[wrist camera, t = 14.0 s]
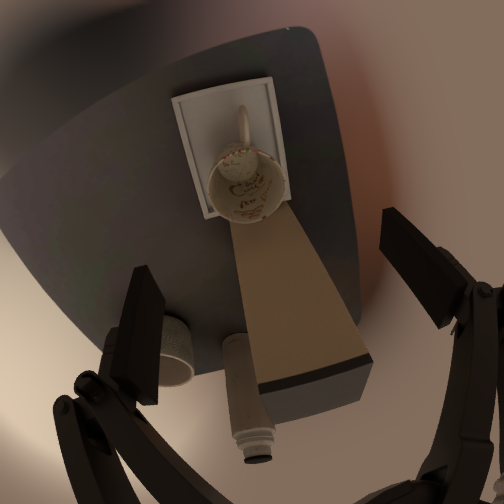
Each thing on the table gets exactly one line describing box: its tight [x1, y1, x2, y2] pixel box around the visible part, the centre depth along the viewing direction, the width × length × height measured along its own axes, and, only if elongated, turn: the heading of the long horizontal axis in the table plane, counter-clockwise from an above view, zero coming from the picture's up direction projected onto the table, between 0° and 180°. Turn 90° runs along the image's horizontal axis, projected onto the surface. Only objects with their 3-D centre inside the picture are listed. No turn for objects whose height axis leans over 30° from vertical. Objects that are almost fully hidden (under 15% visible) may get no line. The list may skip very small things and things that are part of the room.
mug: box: [207, 105, 286, 223], centre depth 31 cm, size 8×13×10 cm, turn 2°
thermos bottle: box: [222, 333, 276, 464], centre depth 49 cm, size 8×8×28 cm
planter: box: [159, 315, 194, 387], centre depth 50 cm, size 12×12×11 cm
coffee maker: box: [171, 77, 373, 425], centre depth 27 cm, size 27×13×29 cm, turn 10°
